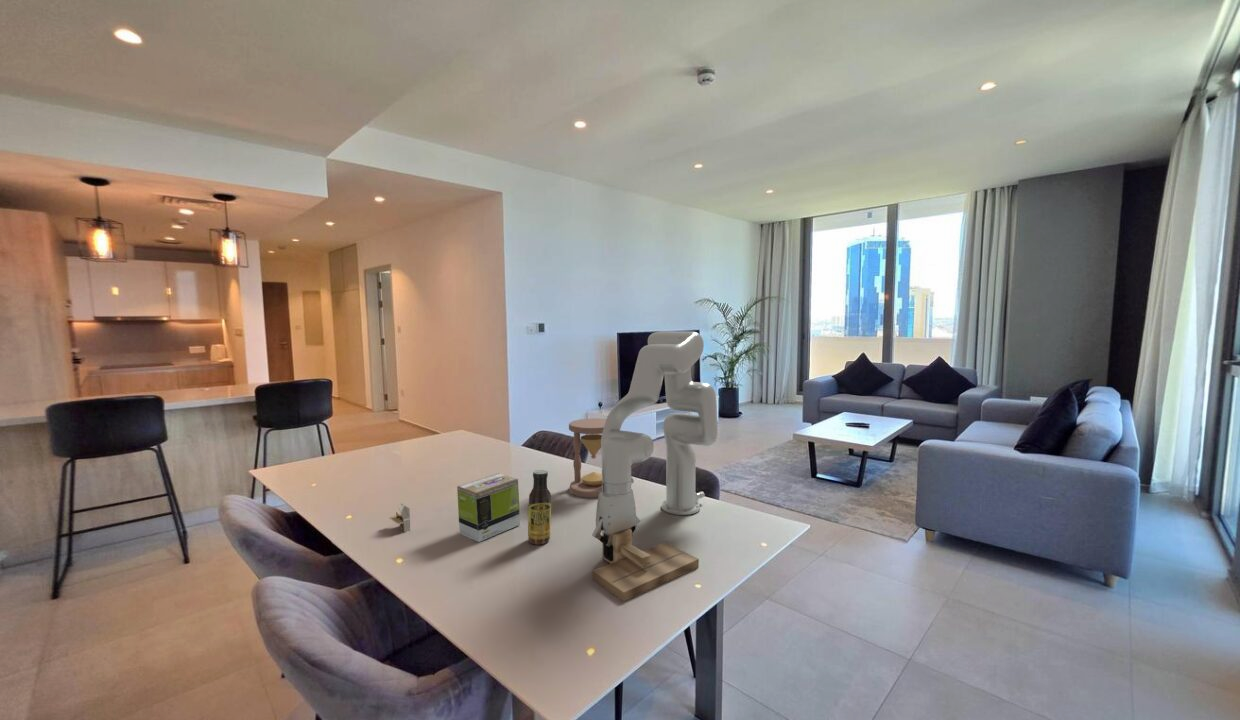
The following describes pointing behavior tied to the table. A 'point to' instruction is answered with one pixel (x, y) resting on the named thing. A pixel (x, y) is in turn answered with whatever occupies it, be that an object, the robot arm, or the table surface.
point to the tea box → (488, 506)
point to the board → (645, 571)
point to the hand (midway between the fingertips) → (617, 554)
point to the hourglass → (591, 482)
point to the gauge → (627, 549)
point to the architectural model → (402, 518)
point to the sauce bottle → (539, 509)
